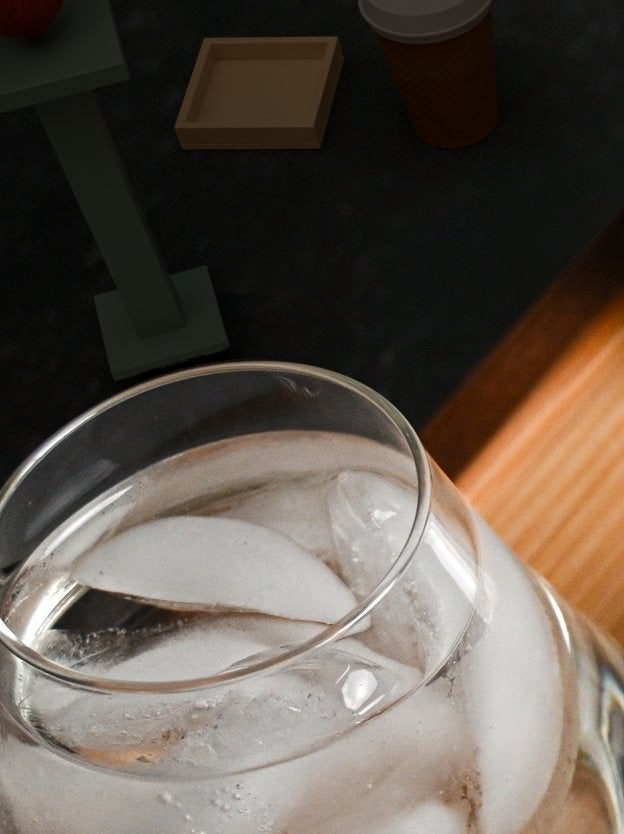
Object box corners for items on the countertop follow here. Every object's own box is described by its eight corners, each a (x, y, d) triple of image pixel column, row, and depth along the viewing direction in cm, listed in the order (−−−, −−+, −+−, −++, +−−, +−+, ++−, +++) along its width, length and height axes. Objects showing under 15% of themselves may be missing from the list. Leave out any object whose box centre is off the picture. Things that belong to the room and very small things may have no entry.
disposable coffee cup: (372, 152, 142) (331, 9, 132) (422, 71, 147) (386, -74, 136) (492, 173, 140) (460, 29, 130) (539, 90, 145) (511, -56, 135)
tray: (320, 149, 142) (313, 126, 141) (182, 150, 143) (173, 127, 141) (344, 58, 148) (338, 36, 146) (211, 60, 148) (203, 37, 147)
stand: (108, 388, 130) (-32, 102, 111) (88, 301, 135) (-49, 12, 115) (239, 351, 131) (124, 62, 112) (215, 266, 136) (100, -26, 117)
